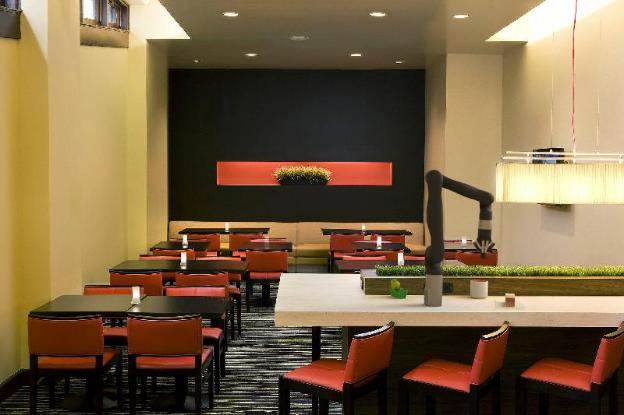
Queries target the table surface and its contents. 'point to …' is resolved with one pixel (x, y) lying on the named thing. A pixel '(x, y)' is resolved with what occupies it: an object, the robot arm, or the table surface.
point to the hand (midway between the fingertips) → (482, 259)
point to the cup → (479, 289)
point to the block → (509, 300)
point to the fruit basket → (397, 290)
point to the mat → (502, 306)
